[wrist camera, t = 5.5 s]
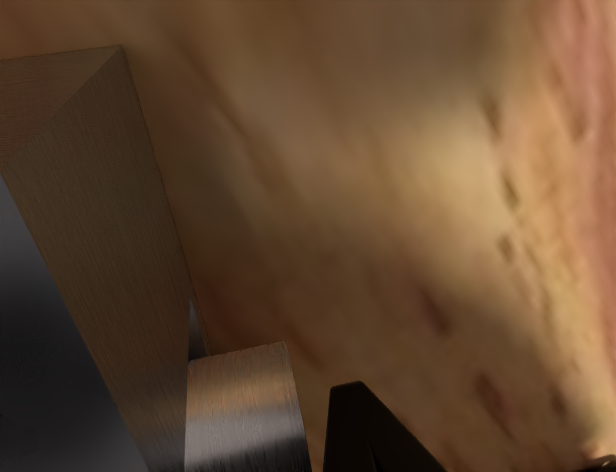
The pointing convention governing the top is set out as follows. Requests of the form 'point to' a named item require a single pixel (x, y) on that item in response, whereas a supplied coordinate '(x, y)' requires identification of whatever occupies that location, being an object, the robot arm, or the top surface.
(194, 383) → the axle
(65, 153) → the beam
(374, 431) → the robot arm
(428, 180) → the top surface
